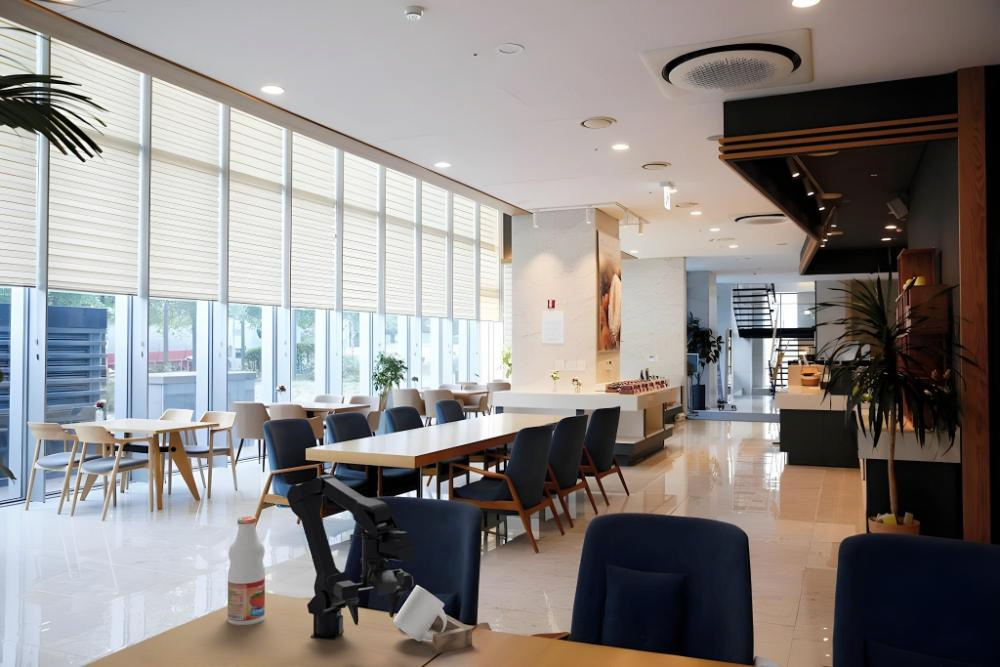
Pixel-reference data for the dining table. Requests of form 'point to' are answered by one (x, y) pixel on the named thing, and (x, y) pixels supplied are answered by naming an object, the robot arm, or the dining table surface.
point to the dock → (450, 635)
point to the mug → (420, 614)
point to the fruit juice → (246, 576)
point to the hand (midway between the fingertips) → (374, 620)
